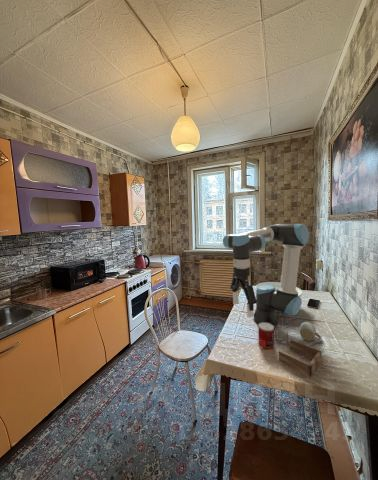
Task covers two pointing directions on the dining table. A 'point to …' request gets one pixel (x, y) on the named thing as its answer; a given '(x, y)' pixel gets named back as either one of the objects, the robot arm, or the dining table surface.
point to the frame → (300, 364)
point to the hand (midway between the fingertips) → (242, 309)
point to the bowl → (276, 285)
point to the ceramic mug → (309, 332)
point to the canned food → (266, 335)
